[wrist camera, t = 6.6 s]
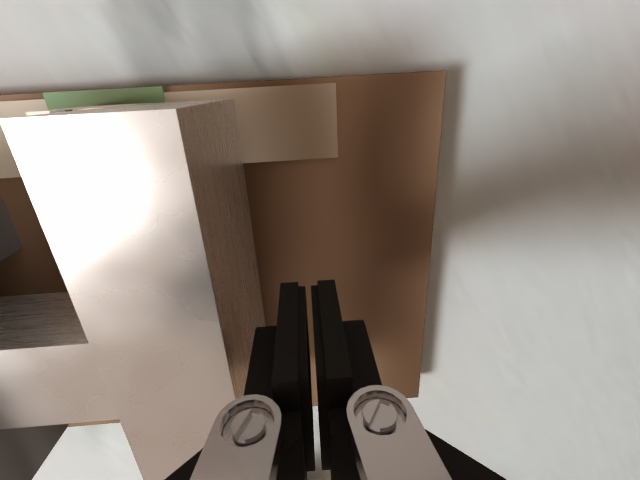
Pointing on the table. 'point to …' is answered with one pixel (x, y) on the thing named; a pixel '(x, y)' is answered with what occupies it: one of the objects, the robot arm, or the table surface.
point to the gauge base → (285, 209)
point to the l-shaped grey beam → (135, 276)
